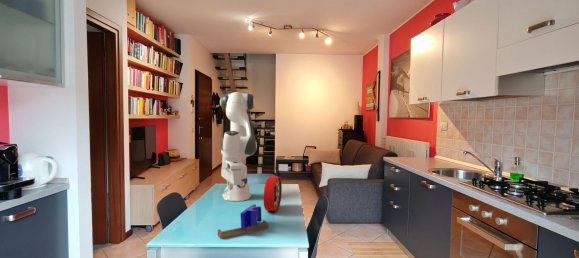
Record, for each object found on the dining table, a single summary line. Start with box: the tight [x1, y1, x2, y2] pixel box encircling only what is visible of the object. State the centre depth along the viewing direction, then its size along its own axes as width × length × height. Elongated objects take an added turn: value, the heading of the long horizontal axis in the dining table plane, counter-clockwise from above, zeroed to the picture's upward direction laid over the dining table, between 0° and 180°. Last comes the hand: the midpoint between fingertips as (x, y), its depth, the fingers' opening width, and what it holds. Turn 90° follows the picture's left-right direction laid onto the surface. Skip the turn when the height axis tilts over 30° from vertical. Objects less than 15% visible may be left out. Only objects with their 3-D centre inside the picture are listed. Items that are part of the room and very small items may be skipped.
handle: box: [217, 219, 269, 240], centre depth 133 cm, size 4×24×4 cm, turn 122°
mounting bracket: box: [240, 204, 263, 229], centre depth 138 cm, size 18×7×6 cm
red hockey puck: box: [262, 175, 283, 212], centre depth 167 cm, size 20×6×20 cm, turn 168°
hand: (230, 189), depth 145 cm, fingers closed
